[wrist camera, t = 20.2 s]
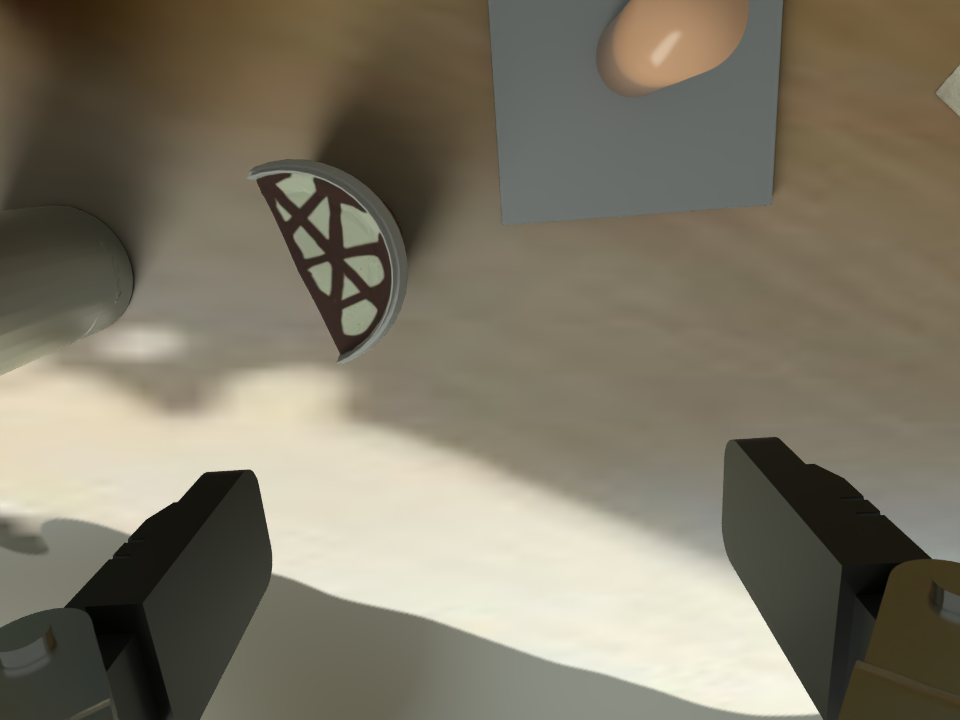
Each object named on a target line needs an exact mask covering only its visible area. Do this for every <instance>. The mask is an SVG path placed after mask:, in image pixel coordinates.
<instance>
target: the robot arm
mask: <svg viewBox="0 0 960 720" xmlns="http://www.w3.org/2000/svg"><path fill="white" fill-rule="evenodd" d="M132 288H133V275H132V267H131V264H130V261H129V258H128V255H127V253H126V251H125V249H124V247H123V246H122V244H121V242H120V240H119V239H118V238H117V237H116V236H115V234H114V233H113V232H112V231H111V230H110V229H109V228H108V227H107V226H106V225H105V224H103V223H102V222H101V221H100V220H99V219H97V218H95V217H94V216H92V215H90V214H88V213H87V212H85V211H82V210H79V209H76V208H73V207H68V206H60V205H51V206H41V207H32V208H23V209H14V210H3V211H0V376H1V375H3V374H5V373H7V372H9V371H12V370H14V369H16V368H18V367H20V366H23V365H25V364H27V363H29V362H32V361H34V360H36V359H38V358H40V357H43V356H45V355H47V354H49V353H51V352H54V351H56V350H58V349H60V348H62V347H65V346H67V345H69V344H72V343H74V342H76V341H78V340H81V339H83V338H85V337H87V336H89V335H92V334H94V333H96V332H98V331H100V330H103V329H104V328H106V327H108V326H110V325H111V324H113V323H114V322H115V321H116V320H117V319H118V318H119V317H120V316H122V314H123V313H124V311H125V309H126V308H127V306H128V304H129V301H130V298H131V295H132ZM722 534H723V541H724V545H725V549H726V553H727V556H728V558H729V560H730V562H731V564H732V566H733V568H734V569H735V571H736V573H737V574H738V576H739V578H740V579H741V581H742V583H743V584H744V586H745V588H746V590H747V591H748V593H749V595H750V596H751V598H752V600H753V601H754V603H755V605H756V606H757V608H758V610H759V612H760V613H761V615H762V617H763V618H764V620H765V622H766V623H767V625H768V627H769V628H770V630H771V632H772V634H773V635H774V637H775V639H776V640H777V642H778V644H779V645H780V647H781V649H782V650H783V652H784V654H785V656H786V657H787V659H788V661H789V662H790V664H791V666H792V667H793V669H794V671H795V672H796V674H797V676H798V678H799V679H800V681H801V683H802V684H803V686H804V688H805V689H806V691H807V693H808V694H809V696H810V698H811V700H812V701H813V703H814V705H815V706H816V708H817V710H818V711H819V713H820V715H821V716H822V718H823V720H960V563H957V562H952V561H946V560H937V559H932V558H931V557H929V556H928V555H927V554H926V553H925V552H924V551H923V550H922V549H921V548H920V547H919V546H917V545H916V544H915V543H914V542H913V541H912V540H911V539H910V538H909V537H908V536H906V535H905V534H904V533H903V532H902V531H901V530H900V529H899V528H898V527H897V526H896V525H894V524H893V523H892V522H891V521H890V520H889V519H888V518H887V517H886V516H885V515H880V511H879V510H878V509H877V508H876V507H875V506H874V505H873V504H872V503H870V502H869V501H868V500H864V497H863V495H862V494H861V493H859V492H858V491H857V490H856V489H855V488H854V487H853V486H852V485H851V484H850V483H849V482H847V481H846V480H845V479H844V478H842V477H840V476H838V475H836V474H834V473H832V472H830V471H828V470H826V469H824V468H822V467H820V466H818V465H816V464H805V463H804V462H803V461H802V460H801V459H800V458H799V457H798V456H797V455H796V454H795V453H794V452H793V451H792V450H791V449H790V448H788V447H787V446H786V445H785V444H784V443H783V442H782V441H781V440H780V439H779V438H777V437H768V438H752V439H736V440H730V441H729V442H728V443H727V445H726V449H725V456H724V480H723V506H722ZM271 571H272V550H271V544H270V539H269V534H268V529H267V524H266V519H265V514H264V509H263V504H262V499H261V494H260V489H259V484H258V480H257V477H256V475H255V474H254V472H253V471H252V470H234V471H218V472H206V473H204V474H203V475H202V476H201V477H200V478H199V479H198V480H197V481H196V482H195V483H194V485H193V486H192V487H191V488H190V489H189V490H188V491H187V492H186V494H185V495H184V496H183V497H182V498H181V499H180V500H179V501H178V502H175V503H172V504H171V505H169V506H167V507H166V508H164V509H163V510H161V511H159V512H158V513H156V514H155V515H153V516H151V517H150V518H148V519H147V520H145V522H144V523H143V524H142V525H141V526H140V527H139V528H138V529H137V530H136V531H135V532H134V533H133V534H132V535H131V536H130V538H129V539H128V543H124V544H123V545H122V546H121V547H120V548H119V550H117V552H116V553H115V554H114V555H113V559H110V560H108V561H107V562H106V563H105V564H104V565H103V566H102V568H101V569H100V570H99V571H98V572H97V573H96V574H95V575H94V576H93V577H92V578H91V579H90V580H89V581H88V582H87V584H86V585H85V586H84V587H83V588H82V589H81V590H80V591H79V592H78V593H77V594H76V595H75V597H73V598H72V600H71V601H70V602H69V603H68V604H67V605H66V606H65V607H64V608H58V609H57V608H56V609H51V610H45V611H41V612H37V613H34V614H31V615H28V616H25V617H22V618H20V619H18V620H15V621H13V622H11V623H9V624H7V625H5V626H3V627H1V628H0V720H200V718H201V716H202V714H203V712H204V710H205V708H206V706H207V705H208V702H209V701H210V698H211V697H212V695H213V693H214V691H215V689H216V687H217V685H218V683H219V681H220V679H221V677H222V675H223V673H224V671H225V669H226V667H227V665H228V663H229V661H230V660H231V658H232V655H233V654H234V652H235V650H236V648H237V646H238V644H239V642H240V640H241V638H242V636H243V634H244V632H245V630H246V628H247V626H248V624H249V622H250V620H251V618H252V616H253V614H254V613H255V610H256V609H257V606H258V605H259V603H260V601H261V599H262V597H263V595H264V593H265V591H266V589H267V587H268V584H269V581H270V577H271Z"/></svg>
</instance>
